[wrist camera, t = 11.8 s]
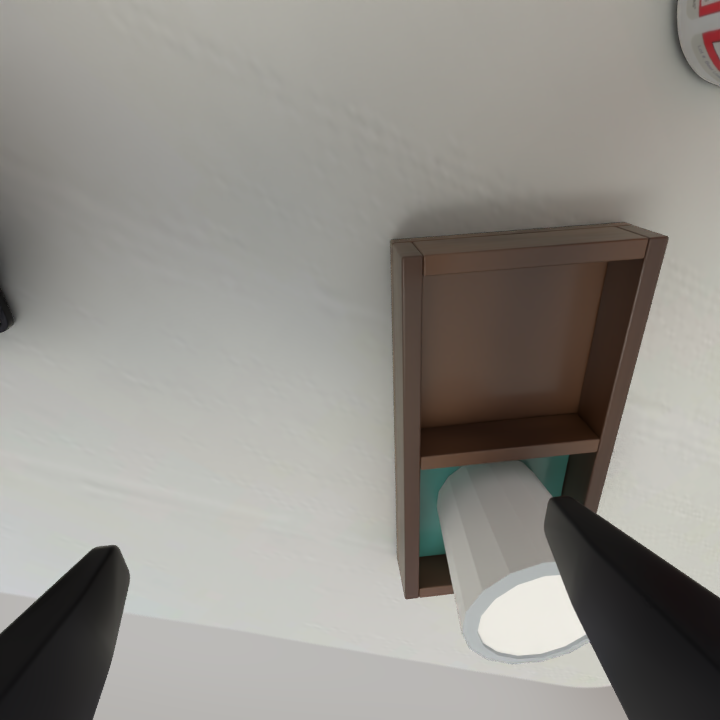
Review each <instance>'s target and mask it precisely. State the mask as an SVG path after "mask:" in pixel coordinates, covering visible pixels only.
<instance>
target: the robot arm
mask: <svg viewBox="0 0 720 720" xmlns="http://www.w3.org/2000/svg"><path fill="white" fill-rule="evenodd" d="M0 320H1V323H0V333H1V332H4V331H6V330H7V329H9V328H10V327H11V326H12V325H13V323H14V319H13V316H12V313H11V311H10V309H9V307H8V304H7V302H6V300H5V297H4V295H3V293H2V291H1V288H0ZM544 532H545V536H546V539H547V541H548V544H549V547H550V549H551V552H552V554H553V557H554V560H555V562H556V565H557V568H558V570H559V573H560V576H561V578H562V581H563V583H564V586H565V589H566V591H567V594H568V596H569V599H570V601H571V604H572V606H573V608H574V610H575V613H576V615H577V617H578V619H579V621H580V623H581V625H582V627H583V629H584V631H585V633H586V635H587V637H588V639H589V641H590V643H591V645H592V647H593V649H594V651H595V653H596V655H597V657H598V659H599V661H600V663H601V665H602V667H603V669H604V671H605V673H606V675H607V677H608V679H609V681H610V683H611V685H612V687H613V689H614V691H615V693H616V695H617V697H618V699H619V701H620V703H621V705H622V707H623V709H624V711H625V713H626V715H627V717H628V719H629V720H720V598H719V597H718V596H716V595H715V594H713V593H712V592H711V591H709V590H708V589H706V588H705V587H703V586H702V585H700V584H699V583H697V582H696V581H694V580H693V579H691V578H690V577H689V576H687V575H686V574H684V573H683V572H681V571H680V570H678V569H677V568H675V567H674V566H672V565H671V564H669V563H668V562H667V561H665V560H664V559H662V558H661V557H659V556H658V555H656V554H655V553H653V552H652V551H650V550H649V549H647V548H646V547H644V546H643V545H642V544H640V543H639V542H637V541H636V540H634V539H633V538H631V537H630V536H628V535H627V534H625V533H624V532H622V531H621V530H620V529H618V528H617V527H615V526H614V525H612V524H611V523H609V522H608V521H606V520H605V519H603V518H602V517H600V516H599V515H598V514H596V513H595V512H593V511H592V510H590V509H589V508H587V507H586V506H584V505H583V504H581V503H580V502H578V501H577V500H575V499H574V498H572V497H570V496H558V497H552V498H550V499H549V501H548V504H547V510H546V515H545V520H544ZM129 582H130V574H129V570H128V567H127V565H126V563H125V560H124V558H123V556H122V554H121V551H120V549H119V548H118V547H117V546H116V545H108V546H99V547H95V548H94V549H92V550H91V551H90V552H88V553H87V554H86V555H85V556H84V557H83V558H82V559H81V560H80V561H79V562H78V563H77V564H75V565H74V566H73V567H72V568H71V569H70V570H69V571H68V572H67V573H66V574H65V575H64V576H62V577H61V578H60V579H59V580H58V581H57V582H56V583H55V584H54V585H53V586H52V587H50V588H49V589H48V590H47V591H46V592H45V593H44V594H43V595H42V596H41V597H40V598H39V599H37V600H36V601H35V602H34V603H33V604H32V605H31V606H30V607H29V608H28V609H27V610H26V611H25V612H24V613H22V614H21V615H20V616H19V617H18V618H17V619H16V620H15V621H14V622H13V623H11V624H10V625H9V626H8V627H7V628H6V629H5V630H4V631H3V632H2V633H1V634H0V720H93V717H94V714H95V711H96V708H97V705H98V702H99V699H100V696H101V693H102V690H103V687H104V684H105V680H106V678H107V674H108V671H109V668H110V665H111V661H112V657H113V653H114V649H115V645H116V640H117V636H118V631H119V627H120V623H121V618H122V614H123V609H124V605H125V600H126V596H127V591H128V587H129Z"/></svg>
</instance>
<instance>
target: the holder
mask: <svg viewBox="0 0 720 720" xmlns="http://www.w3.org/2000/svg"><path fill="white" fill-rule="evenodd" d="M667 243H668V236H665V235H662V234H659V233H656V232H652V231H649V230H646V229H643V228H640V227H637V226H633V225H631V224H628V223H625V222H621V223H608V224H595V225H581V226H568V227H555V228H541V229H528V230H515V231H501V232H488V233H475V234H462V235H448V236H435V237H422V238H408V239H395V240H391V241H390V254H391V299H392V345H393V391H394V437H395V483H396V529H397V560H398V565H399V570H400V575H401V580H402V586H403V591H404V596H405V599H413V598H418V597H420V598H422V597H430V596H438V595H447V594H454V592H453V586H452V581H451V576H450V571H449V566H448V561H447V556H446V551H445V546H444V541H443V536H442V531H441V526H440V521H439V516H438V511H437V500H438V493H439V490H440V489H441V487H442V486H443V484H444V483H445V481H446V480H447V478H448V477H449V476H450V475H451V474H453V473H454V472H455V471H457V470H458V469H459V468H461V467H462V466H466V465H475V464H485V463H495V462H504V461H514V460H518V461H521V462H523V463H524V464H525V465H526V466H527V467H528V468H529V469H530V470H531V471H532V472H533V473H534V474H535V475H536V477H537V478H538V479H539V480H540V482H541V483H542V484H543V485H544V487H545V488H546V489H547V490H548V492H549V493H550V494H551V495H552V497H558V496H570V497H572V498H574V499H575V500H577V501H578V502H580V503H581V504H583V505H584V506H586V507H587V508H589V509H590V510H592V511H593V512H595V513H597V509H598V505H599V501H600V498H601V494H602V490H603V486H604V482H605V479H606V475H607V471H608V467H609V463H610V459H611V456H612V452H613V448H614V444H615V440H616V437H617V433H618V429H619V425H620V421H621V418H622V414H623V410H624V406H625V402H626V399H627V395H628V391H629V387H630V383H631V380H632V376H633V372H634V368H635V364H636V361H637V357H638V353H639V349H640V345H641V342H642V338H643V334H644V330H645V326H646V323H647V319H648V315H649V311H650V307H651V304H652V300H653V296H654V292H655V288H656V284H657V281H658V277H659V273H660V269H661V265H662V262H663V258H664V254H665V250H666V246H667Z"/></svg>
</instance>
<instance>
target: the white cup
mask: <svg viewBox="0 0 720 720" xmlns="http://www.w3.org/2000/svg"><path fill="white" fill-rule="evenodd" d="M550 498H552V495H551V494H550V493H549V492H548V490H547V489H546V488H545V487H544V485H543V484H542V483H541V482H540V480H539V479H538V478H537V477H536V475H535V474H534V473H533V472H532V471H531V470H530V469H529V468H528V467H527V466H526V465H525V464H524V463H523V462H521V461H518V460H514V461H504V462H495V463H485V464H475V465H466V466H462V467H461V468H459V469H458V470H457V471H455V472H454V473H453V474H451V475H450V476H449V477H448V478H447V480H446V481H445V483H444V484H443V486H442V487H441V489H440V490H439V493H438V500H437V511H438V516H439V521H440V526H441V531H442V536H443V541H444V546H445V551H446V556H447V561H448V566H449V571H450V576H451V581H452V586H453V592H454V597H455V602H456V607H457V612H458V617H459V622H460V627H461V632H462V634H463V636H464V638H465V640H466V643H467V645H468V647H469V649H471V650H472V651H474V652H475V653H477V654H479V655H480V656H482V657H484V658H485V659H487V660H491V661H497V662H503V663H508V664H521V663H533V662H542V661H545V660H548V659H552V658H555V657H558V656H561V655H565V654H568V653H571V652H572V651H574V650H576V649H578V648H580V647H581V646H583V645H585V644H587V643H588V642H590V641H589V639H588V637H587V635H586V633H585V631H584V629H583V627H582V625H581V623H580V621H579V619H578V617H577V615H576V613H575V610H574V608H573V606H572V604H571V601H570V599H569V596H568V594H567V591H566V589H565V586H564V583H563V581H562V578H561V576H560V573H559V570H558V568H557V565H556V562H555V560H554V557H553V554H552V552H551V549H550V547H549V544H548V541H547V539H546V536H545V532H544V520H545V515H546V510H547V504H548V501H549V499H550Z"/></svg>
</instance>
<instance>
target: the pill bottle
mask: <svg viewBox="0 0 720 720" xmlns="http://www.w3.org/2000/svg"><path fill="white" fill-rule="evenodd" d="M677 27H678V36H679V40H680V44H681V48H682V51H683V53H684V56H685V58H686V60H687V61H688V63H689V65H690V66H691V67H692V69H693V70H694V71H695V72H696V73H697V74H698V75H699V76H700V77H701V78H702V79H704V80H706V81H708V82H710V83H712V84H715V85H718V86H720V0H678V6H677Z"/></svg>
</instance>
